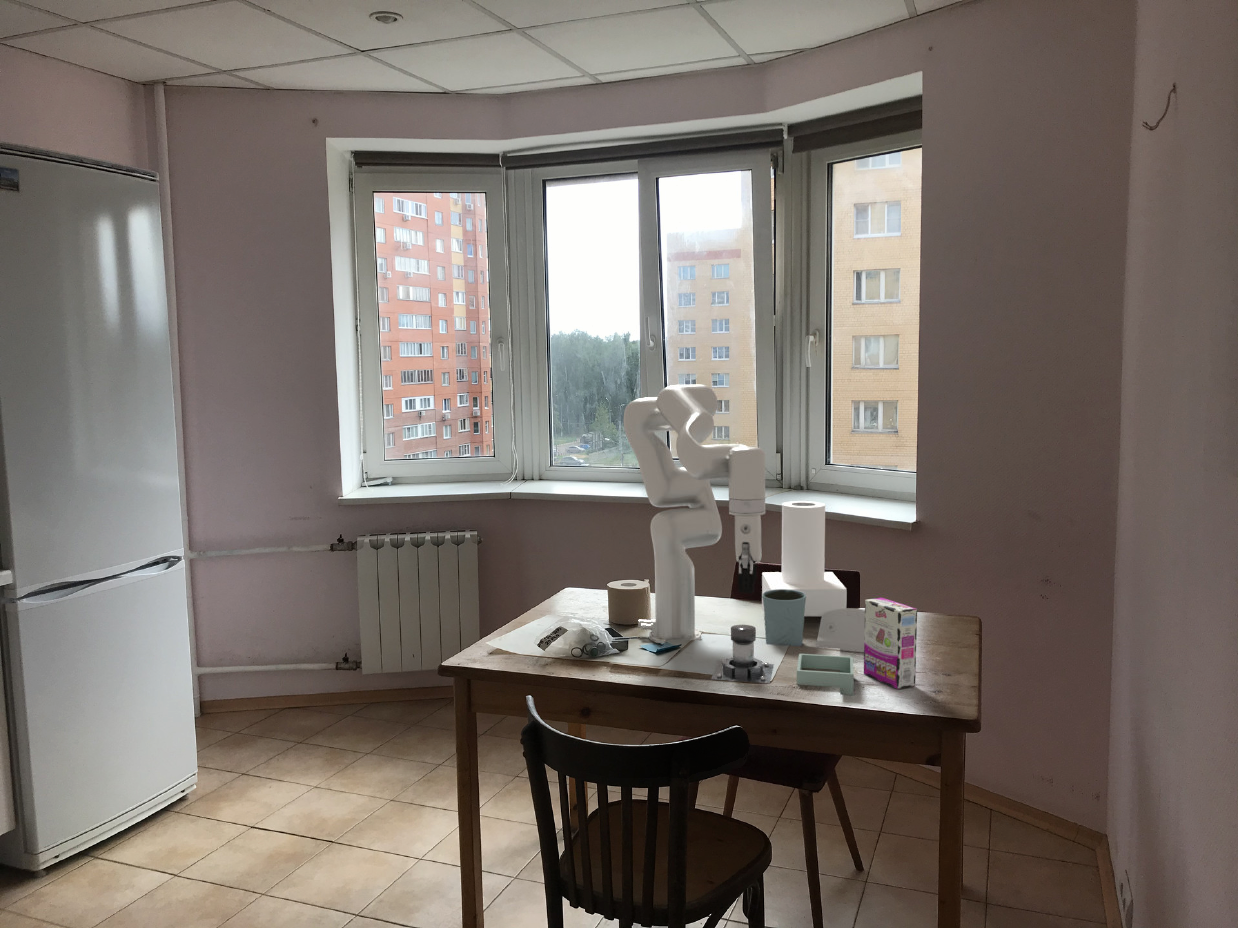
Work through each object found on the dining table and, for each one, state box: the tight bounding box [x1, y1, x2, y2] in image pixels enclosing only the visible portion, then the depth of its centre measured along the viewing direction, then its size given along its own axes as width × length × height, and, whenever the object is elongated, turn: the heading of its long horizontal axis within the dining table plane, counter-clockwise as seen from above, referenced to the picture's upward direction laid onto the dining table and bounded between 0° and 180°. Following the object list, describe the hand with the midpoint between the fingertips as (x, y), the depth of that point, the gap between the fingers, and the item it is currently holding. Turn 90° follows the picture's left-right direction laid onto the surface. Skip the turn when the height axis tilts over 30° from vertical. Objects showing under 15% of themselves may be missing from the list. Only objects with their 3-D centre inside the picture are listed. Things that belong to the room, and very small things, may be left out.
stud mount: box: [711, 657, 775, 684], centre depth 196 cm, size 12×12×3 cm
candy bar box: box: [863, 597, 918, 690], centre depth 193 cm, size 11×5×16 cm, turn 24°
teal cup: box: [763, 589, 806, 647], centre depth 219 cm, size 10×10×12 cm
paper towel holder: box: [761, 500, 848, 617], centre depth 239 cm, size 19×19×30 cm
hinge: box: [816, 607, 865, 653], centre depth 216 cm, size 17×5×10 cm, turn 71°
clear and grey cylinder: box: [730, 624, 757, 668], centre depth 195 cm, size 5×5×9 cm
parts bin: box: [796, 653, 855, 696], centre depth 192 cm, size 11×11×4 cm
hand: (747, 587), depth 193 cm, fingers open, 9 cm apart
